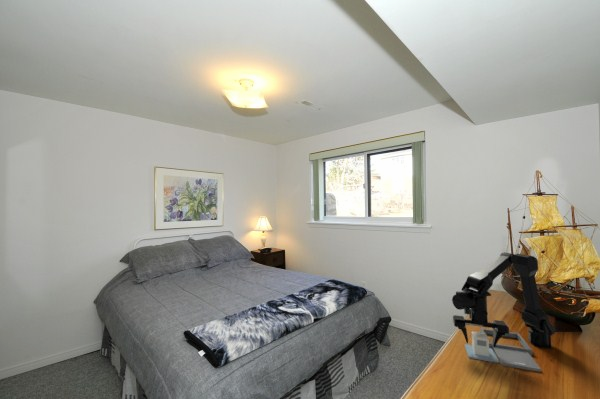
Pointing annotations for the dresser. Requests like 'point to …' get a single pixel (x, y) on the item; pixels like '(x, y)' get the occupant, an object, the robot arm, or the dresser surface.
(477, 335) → the block
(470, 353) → the mat
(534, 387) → the dresser surface
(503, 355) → the grey open frame
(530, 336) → the robot arm
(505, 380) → the dresser surface
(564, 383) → the dresser surface
